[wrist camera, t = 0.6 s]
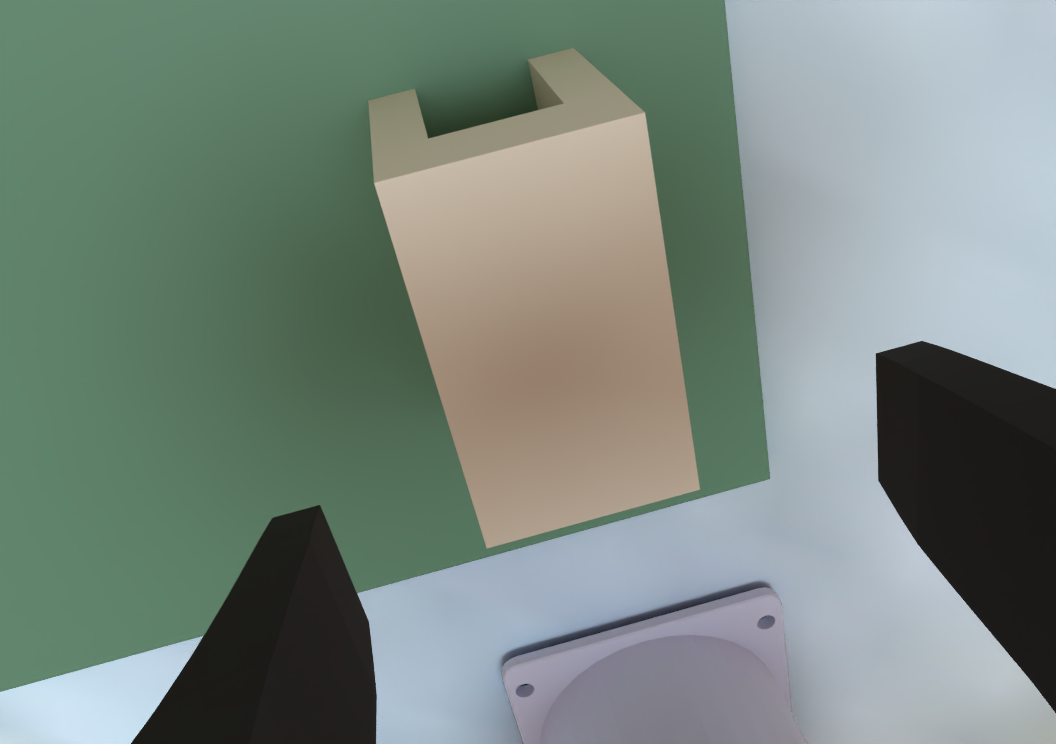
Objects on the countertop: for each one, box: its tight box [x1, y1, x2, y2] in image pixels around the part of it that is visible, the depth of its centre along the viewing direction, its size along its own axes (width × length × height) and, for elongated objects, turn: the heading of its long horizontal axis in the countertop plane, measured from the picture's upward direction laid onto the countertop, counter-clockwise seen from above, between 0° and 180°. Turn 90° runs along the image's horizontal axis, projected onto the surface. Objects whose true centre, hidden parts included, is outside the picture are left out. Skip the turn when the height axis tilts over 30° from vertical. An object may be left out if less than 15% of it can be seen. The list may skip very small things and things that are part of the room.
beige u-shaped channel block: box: [368, 48, 700, 548], centre depth 17 cm, size 7×4×5 cm, turn 12°
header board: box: [0, 0, 770, 692], centre depth 17 cm, size 20×24×3 cm
